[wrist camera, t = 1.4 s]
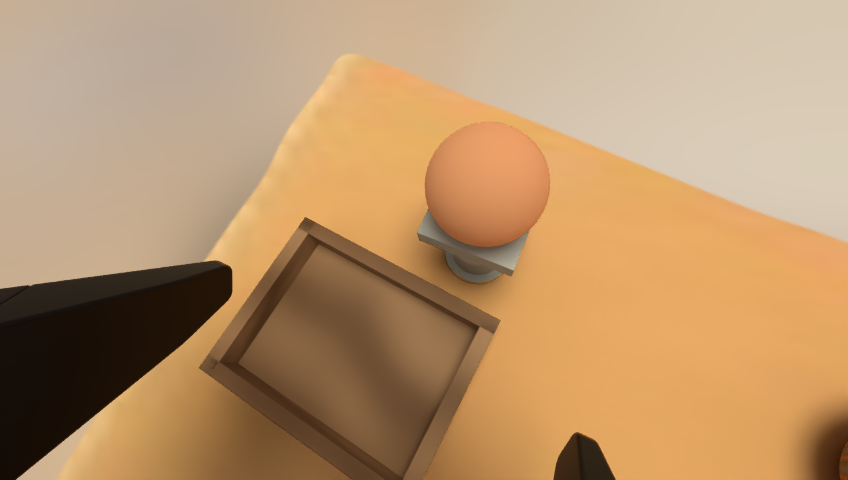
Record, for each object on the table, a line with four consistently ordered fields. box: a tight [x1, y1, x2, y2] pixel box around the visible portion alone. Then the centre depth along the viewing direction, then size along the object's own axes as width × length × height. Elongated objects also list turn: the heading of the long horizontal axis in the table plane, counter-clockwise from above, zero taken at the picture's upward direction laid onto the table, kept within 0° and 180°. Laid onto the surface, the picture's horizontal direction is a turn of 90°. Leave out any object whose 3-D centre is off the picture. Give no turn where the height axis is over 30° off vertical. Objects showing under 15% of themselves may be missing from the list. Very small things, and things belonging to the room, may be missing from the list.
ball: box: [425, 122, 550, 247], centre depth 15 cm, size 5×5×5 cm
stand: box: [417, 209, 529, 284], centre depth 20 cm, size 5×5×6 cm
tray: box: [199, 217, 501, 480], centre depth 21 cm, size 10×13×2 cm
